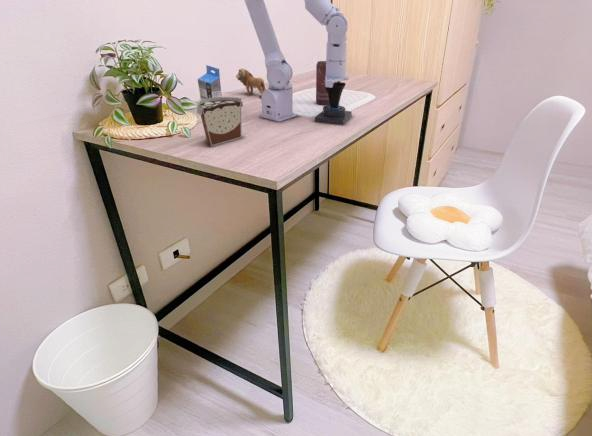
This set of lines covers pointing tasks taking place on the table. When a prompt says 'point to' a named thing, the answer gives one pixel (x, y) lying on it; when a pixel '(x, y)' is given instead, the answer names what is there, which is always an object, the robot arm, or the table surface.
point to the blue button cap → (334, 108)
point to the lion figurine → (250, 81)
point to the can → (321, 84)
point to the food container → (221, 119)
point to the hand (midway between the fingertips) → (334, 107)
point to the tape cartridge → (210, 84)
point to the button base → (333, 116)
